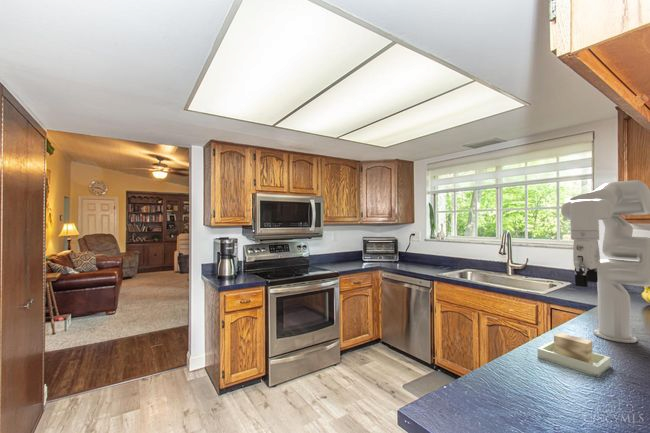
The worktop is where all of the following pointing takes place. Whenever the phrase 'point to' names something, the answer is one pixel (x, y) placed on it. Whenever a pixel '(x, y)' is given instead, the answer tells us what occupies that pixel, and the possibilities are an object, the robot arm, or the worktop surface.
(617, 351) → the worktop surface
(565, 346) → the block
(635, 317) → the worktop surface
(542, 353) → the tray
